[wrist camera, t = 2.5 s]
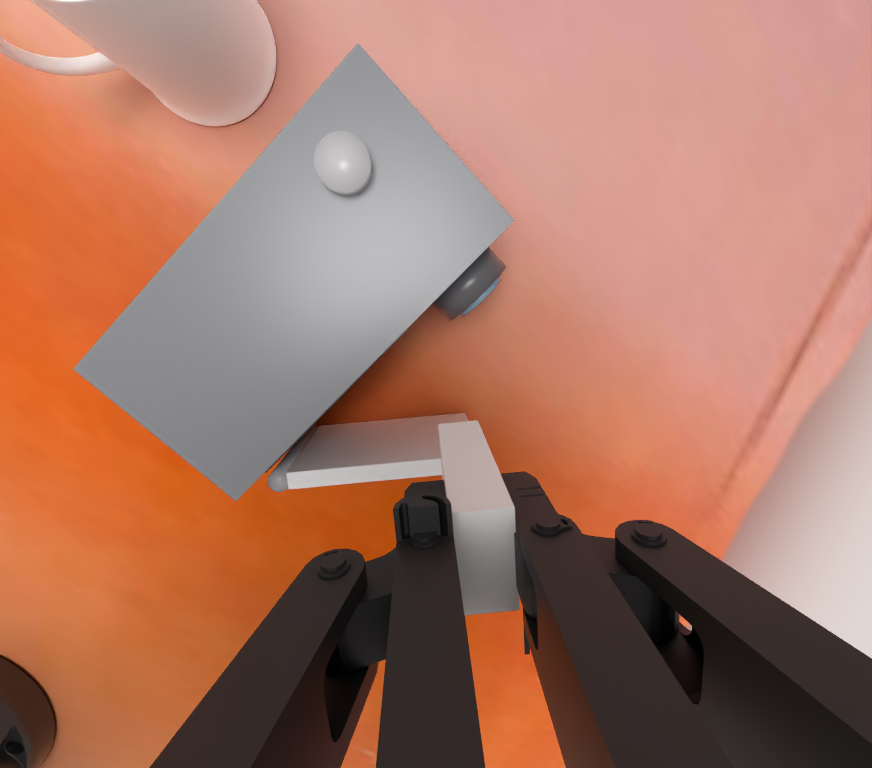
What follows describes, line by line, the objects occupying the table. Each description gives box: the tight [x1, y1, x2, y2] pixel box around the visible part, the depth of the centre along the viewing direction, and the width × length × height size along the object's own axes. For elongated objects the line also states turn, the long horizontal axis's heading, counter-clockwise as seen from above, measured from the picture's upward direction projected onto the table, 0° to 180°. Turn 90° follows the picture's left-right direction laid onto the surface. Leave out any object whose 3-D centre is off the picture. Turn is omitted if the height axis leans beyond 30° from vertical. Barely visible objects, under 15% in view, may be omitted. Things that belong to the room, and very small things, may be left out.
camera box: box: [73, 44, 514, 501], centre depth 25 cm, size 20×12×11 cm, turn 135°
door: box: [268, 413, 468, 492], centre depth 28 cm, size 12×2×8 cm, turn 95°
